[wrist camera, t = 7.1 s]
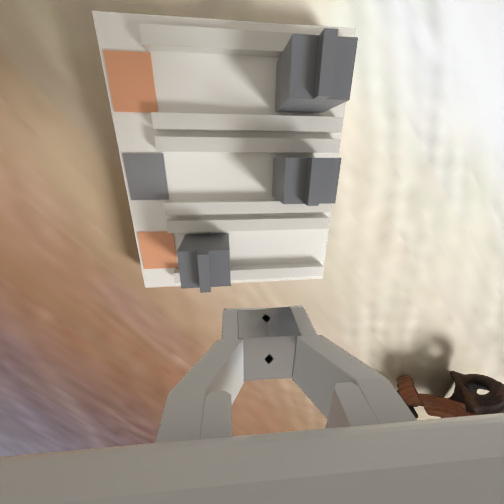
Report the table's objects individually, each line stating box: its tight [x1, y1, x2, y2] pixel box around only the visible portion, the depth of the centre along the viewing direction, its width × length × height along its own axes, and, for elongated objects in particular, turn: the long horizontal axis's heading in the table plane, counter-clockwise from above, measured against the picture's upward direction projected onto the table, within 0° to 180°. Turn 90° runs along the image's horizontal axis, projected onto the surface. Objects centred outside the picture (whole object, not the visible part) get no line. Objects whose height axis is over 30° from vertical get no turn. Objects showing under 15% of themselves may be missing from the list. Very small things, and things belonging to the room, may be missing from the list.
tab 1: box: [177, 233, 231, 293], centre depth 15 cm, size 3×2×4 cm
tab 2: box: [275, 28, 358, 113], centre depth 12 cm, size 3×2×4 cm
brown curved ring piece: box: [397, 371, 504, 418], centre depth 27 cm, size 12×10×8 cm
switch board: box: [92, 11, 356, 288], centre depth 16 cm, size 14×16×3 cm
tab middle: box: [272, 158, 341, 206], centre depth 14 cm, size 3×2×4 cm
